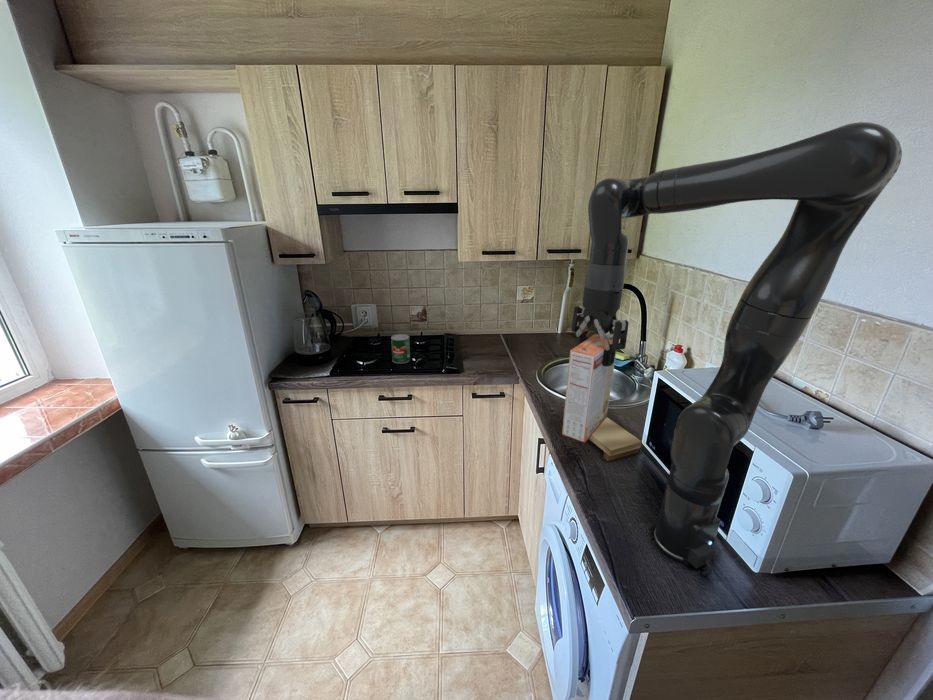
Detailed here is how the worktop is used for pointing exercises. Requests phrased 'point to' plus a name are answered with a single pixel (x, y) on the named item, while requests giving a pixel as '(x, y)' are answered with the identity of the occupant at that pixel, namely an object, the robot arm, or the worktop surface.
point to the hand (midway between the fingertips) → (593, 358)
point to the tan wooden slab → (615, 440)
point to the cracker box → (586, 389)
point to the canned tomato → (400, 348)
